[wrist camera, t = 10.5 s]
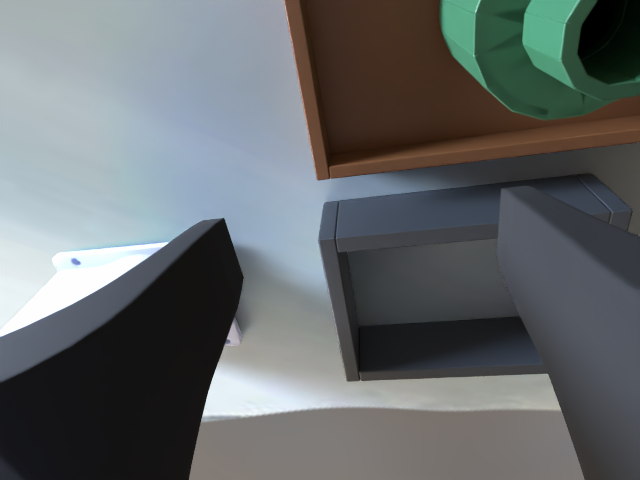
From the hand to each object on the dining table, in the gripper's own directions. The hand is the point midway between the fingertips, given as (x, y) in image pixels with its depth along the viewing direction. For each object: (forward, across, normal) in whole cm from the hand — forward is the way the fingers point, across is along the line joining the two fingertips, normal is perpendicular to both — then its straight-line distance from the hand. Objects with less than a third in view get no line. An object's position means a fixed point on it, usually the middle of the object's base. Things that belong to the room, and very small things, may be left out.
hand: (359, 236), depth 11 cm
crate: (+9, -4, +8) cm, 13 cm away
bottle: (+9, -6, -4) cm, 11 cm away
